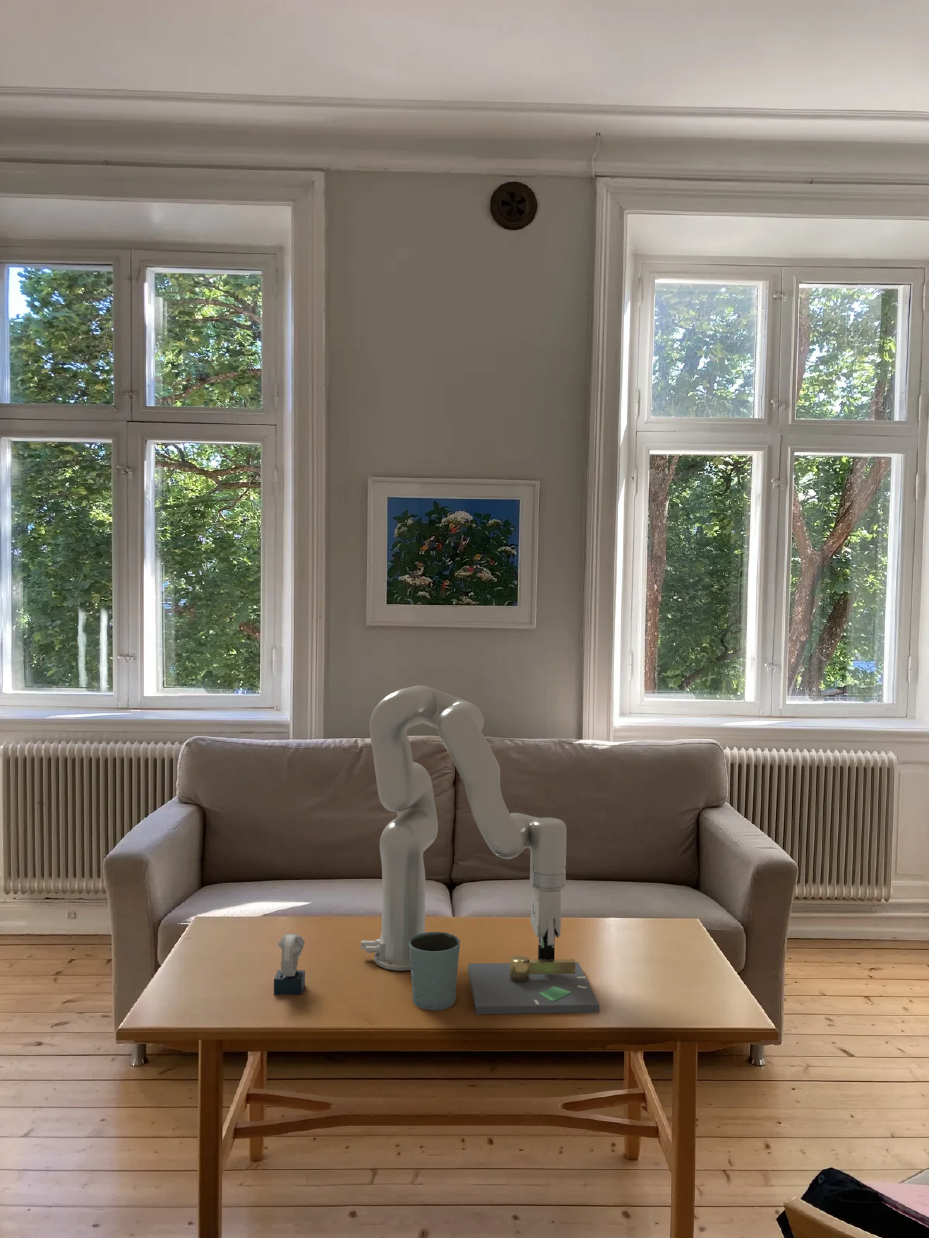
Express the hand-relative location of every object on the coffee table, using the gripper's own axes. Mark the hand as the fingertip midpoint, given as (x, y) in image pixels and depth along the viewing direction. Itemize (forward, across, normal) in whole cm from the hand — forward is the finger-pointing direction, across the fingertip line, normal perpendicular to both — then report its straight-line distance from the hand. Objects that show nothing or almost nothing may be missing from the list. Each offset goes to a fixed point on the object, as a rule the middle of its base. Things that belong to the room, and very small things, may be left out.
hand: (546, 964), depth 185 cm
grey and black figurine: (+3, +2, -53) cm, 53 cm away
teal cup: (+3, +9, -24) cm, 26 cm away
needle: (+1, +3, -1) cm, 4 cm away
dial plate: (+3, +5, -4) cm, 7 cm away
